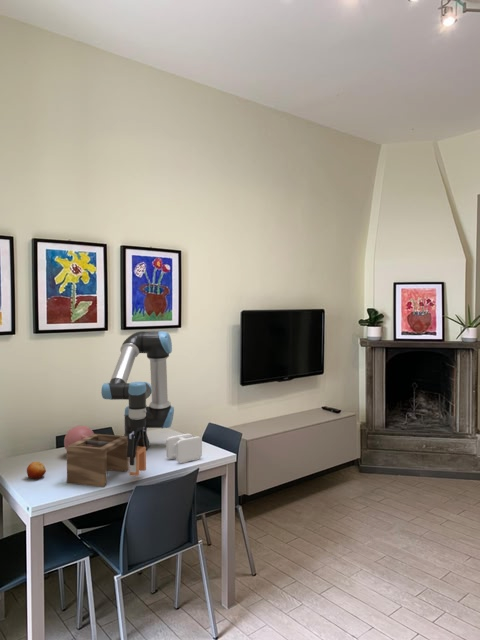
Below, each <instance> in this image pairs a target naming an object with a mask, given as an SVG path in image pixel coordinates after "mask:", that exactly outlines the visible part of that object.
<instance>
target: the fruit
mask: <svg viewBox="0 0 480 640" xmlns="http://www.w3.org/2000/svg"><path fill="white" fill-rule="evenodd" d="M46 471H47V470H46V467H45V465H44V464H43V463H42V462H40V461H32V462H30V463H29V464H28V466H27V468H26V474H27V480H28V479H32V480H40V479H41V478H43V476H45V474H46Z"/></svg>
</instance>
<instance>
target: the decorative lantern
mask: <svg viewBox="0 0 480 640" xmlns="http://www.w3.org/2000/svg"><path fill="white" fill-rule="evenodd" d="M93 434H95V432H94V431H93V430H92V429H91V428H90V427H88V426H85V425H77V426H73V427H72V428H70V429H69V430H68V431H67V433H65V436H64V439H63V445H64V449H65V451H67V446H69V445H71V444H73V443H75V442H77V441H80V440H82V439H84V438H86V437H88V436H91V435H93ZM85 446H87V447H92V445H85Z"/></svg>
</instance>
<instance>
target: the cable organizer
mask: <svg viewBox="0 0 480 640" xmlns="http://www.w3.org/2000/svg"><path fill="white" fill-rule="evenodd" d="M165 445H166V449H165V450H166V458H167V459H169V460H176V462H178V463H180V464H185V463H188V462H192V461H193V462H195V461H198V460H199V459H201V458H202V456H203V438H202V437H200V436H198V435H197V436H193V435H192V433H184V434H178V435H173V436H169V437H167V438H166V444H165Z"/></svg>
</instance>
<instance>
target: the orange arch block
mask: <svg viewBox="0 0 480 640" xmlns="http://www.w3.org/2000/svg"><path fill="white" fill-rule="evenodd" d="M135 457H136V473H135V472H130V458H129V470H128V474H129V476H131V477H132V476H134V477H138V476H140V471H141V472H145V471H146V470H147V451H146V447H142V446H137V449H136V454H135Z"/></svg>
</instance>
